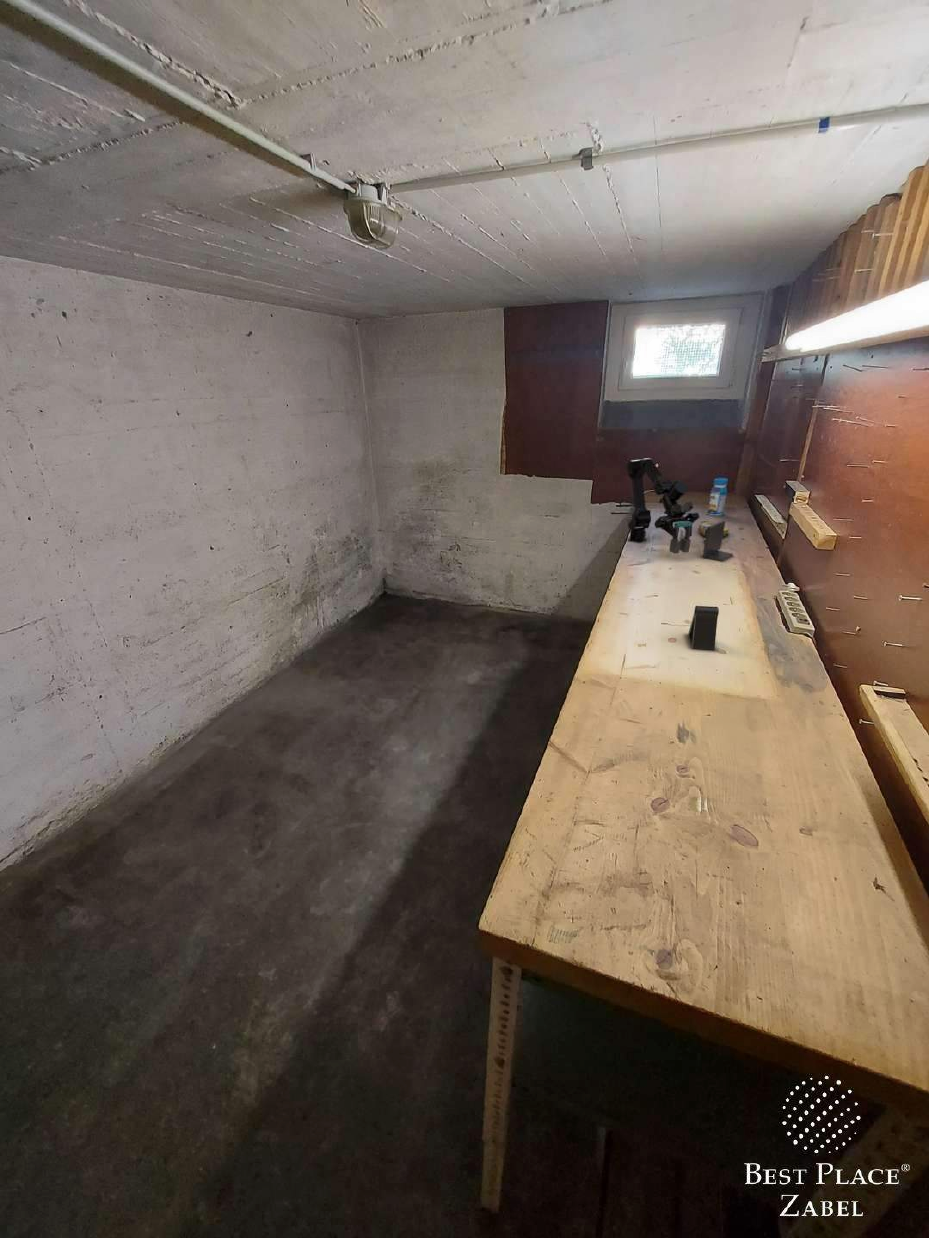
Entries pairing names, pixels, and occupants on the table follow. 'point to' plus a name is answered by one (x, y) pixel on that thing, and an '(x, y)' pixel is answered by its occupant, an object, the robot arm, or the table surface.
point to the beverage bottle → (718, 497)
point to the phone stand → (703, 627)
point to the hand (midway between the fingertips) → (683, 537)
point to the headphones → (683, 542)
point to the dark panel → (715, 542)
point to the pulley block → (704, 530)
